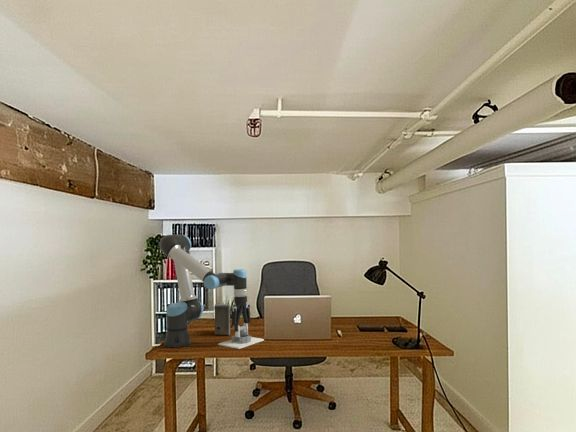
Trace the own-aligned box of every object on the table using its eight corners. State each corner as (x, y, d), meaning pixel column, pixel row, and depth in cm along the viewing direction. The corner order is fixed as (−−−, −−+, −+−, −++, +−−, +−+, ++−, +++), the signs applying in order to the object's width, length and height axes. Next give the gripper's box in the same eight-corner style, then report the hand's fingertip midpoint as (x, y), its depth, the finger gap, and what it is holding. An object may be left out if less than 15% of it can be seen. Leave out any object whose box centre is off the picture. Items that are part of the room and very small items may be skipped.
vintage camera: (235, 331, 285) (234, 300, 287) (229, 335, 270) (228, 303, 271) (220, 331, 286) (219, 301, 288) (214, 336, 271) (213, 304, 272)
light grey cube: (242, 338, 248) (242, 328, 248) (234, 337, 252) (233, 327, 252) (249, 335, 253) (249, 326, 253) (241, 334, 257) (241, 325, 257)
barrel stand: (239, 348, 239) (238, 342, 239) (218, 345, 248) (218, 338, 248) (263, 340, 257) (263, 333, 257) (243, 337, 266) (243, 330, 266)
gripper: (234, 298, 243) (235, 340, 242) (256, 294, 259) (257, 332, 258) (224, 297, 248) (225, 338, 247) (246, 293, 264) (247, 331, 263)
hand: (241, 335), depth 252 cm, fingers closed on light grey cube, 6 cm apart
